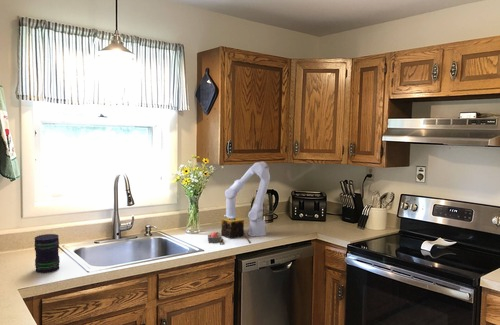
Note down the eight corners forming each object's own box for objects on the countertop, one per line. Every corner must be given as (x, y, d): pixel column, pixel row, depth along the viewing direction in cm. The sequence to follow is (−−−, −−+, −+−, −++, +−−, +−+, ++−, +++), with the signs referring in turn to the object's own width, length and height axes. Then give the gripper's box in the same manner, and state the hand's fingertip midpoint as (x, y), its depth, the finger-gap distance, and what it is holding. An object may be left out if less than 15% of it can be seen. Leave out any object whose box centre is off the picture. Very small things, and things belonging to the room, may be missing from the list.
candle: (230, 239, 241) (230, 221, 240) (220, 235, 249) (220, 218, 248) (244, 236, 247) (244, 219, 246) (234, 232, 255) (234, 216, 254)
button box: (219, 239, 240) (219, 234, 239) (220, 242, 233) (220, 237, 233) (207, 239, 238) (207, 234, 238) (208, 243, 232) (208, 237, 232)
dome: (217, 240, 238) (217, 231, 238) (218, 241, 234) (218, 233, 234) (210, 240, 237) (210, 231, 237) (210, 242, 234) (210, 233, 233)
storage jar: (63, 265, 192) (62, 234, 190) (54, 273, 182) (53, 239, 181) (41, 265, 191) (40, 234, 190) (31, 273, 182) (29, 239, 180)
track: (243, 232, 256) (243, 231, 256) (251, 243, 232) (251, 242, 232) (215, 233, 253) (215, 232, 253) (219, 244, 229) (219, 243, 229)
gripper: (223, 206, 262) (222, 227, 263) (225, 210, 248) (225, 232, 249) (234, 205, 263) (234, 226, 265) (237, 210, 249) (237, 232, 250)
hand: (230, 229), depth 257 cm, fingers closed
